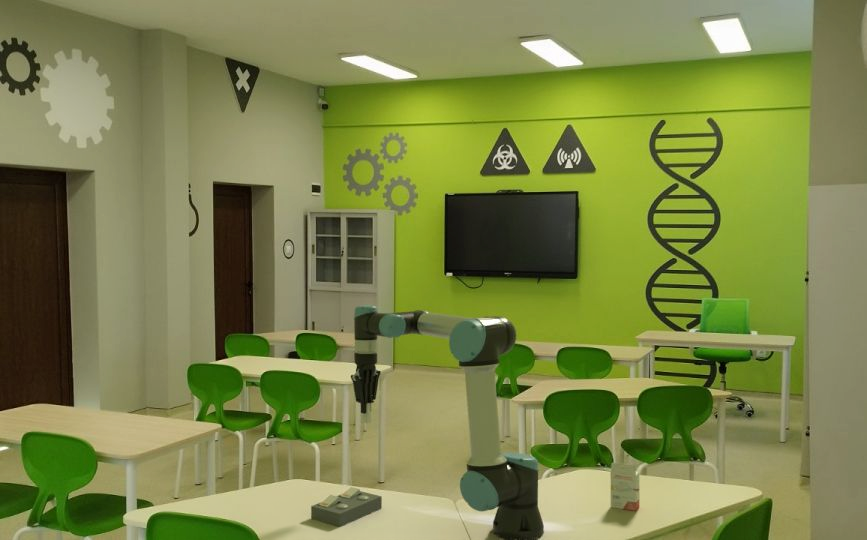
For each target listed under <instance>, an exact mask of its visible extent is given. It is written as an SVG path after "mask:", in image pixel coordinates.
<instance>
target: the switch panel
mask: <svg viewBox="0 0 867 540" xmlns="http://www.w3.org/2000/svg"><path fill="white" fill-rule="evenodd" d="M342 494H343V493H341V494H339V495H336V496H337V497H339V500H340V501H339V502H338V503H337V504H335V505H334V506H331V507H329V508H325V507H321V506H319V504H320V503H321V502H319V503H316V504H313V505H311V507H310V509H311V510H310V511H311V517H310V518H311V520H314V521H318V522H322V523H324V524H328V525H332V526H336V527H340V528H341V527H343V526H345V525H347V523H348V524H350V523H352V522H354V521H356V520H359V519H361V518H363V516H364V517H365V515H366V516H367V514H368V515H370V514H372V512H373V513H375V512H376V511H377V512H378V511H379V510H381V508H382V501H383V500H382V499H383V498H382V495H377V494H374V493H369V492H364V491H361V490H360V494H358V495H357V496H356V497H353V498H351V499H345V498H341V497H340V496H341V495H342ZM382 509H383V508H382ZM374 511H375V512H374Z"/></svg>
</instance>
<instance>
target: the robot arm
mask: <svg viewBox="0 0 867 540" xmlns="http://www.w3.org/2000/svg"><path fill="white" fill-rule="evenodd" d="M353 315H354V317H353V321H354V322H353V323H354V324H353V325H354V329H353V330H354V331H353V332H354V351H355V353H354V364H355V365H356V367H355V373H354V374H351V375H350V379H351V381H352V384H353V391H354V396H355V402H356V403H357V404H360V413H361V423H363V424H370V423H371V420H372V419H371V417H372V416H371V414H372V413H371V412H372V403H373V404H374V402H375V401H374V400H376V399H377V393H378V386H379V381H380V379H379V378H380V376H381V373H382V372H381V370H378V369H377V367H376V365H377V363H378V353H377V352H378V337H384V338H388V339H391V338H393V339H394V338H395V339H396V338H400V337H401V336H405V335H412V334H413V335H421V336H428V337H436V338H440V339H442V338H443V339H448V346H449V351H450V354H452V357H454V359H455V360H457V361H458V367H459V369H461V370H462V371H463V372H464V379H465V380H464V381H465V391H466V392H465V393H466V402H467V403H466V404H467V405H466V406H467V418H468V433H469V443H470V457H468V459H467V460H466V462H465V463H466V472H464V474H463V475H462V476H461V478H460V480H459V490H460V493H461V496H462V499H463V500H464V501H465V503H467V505H468V507H470V508H472V509H473V510H475V511H477V512H488V511H493V510H496V513H495V515H494V519H493V521H492V532H493V533H494V535H496V536H497V537H500V538H503V539H506V540H534V539H538V538H540V537H542V536H543V535H544V531H545V529H544V522H543V518H542V516H541V513H540V509H539V471H540V470H539V465H538V464H539V462H538V459H537V458H536V457H534V455H533V456H532V455H530V454H526V453H520V452H510V451H509V452H502V449H501V447H502V446H501V436H500V434H501V433H500V421H499V411H498V397H497V386H496V385H497V383H496V369H497V367H498V366H499V365H500V356H502V355H505V354H507V353H509V352H510V351H511V350H512V349H513V348H514V346H515V344H516V341H517V330H516V326H514V324H513V322H511V321H510V320H509V319H508V318H506V317H503V316H496V315H495V316H483V317H479V318H478V317H476V318H475V317H466V316H459V315H451V314H450V315H449V314H444V313H443V314H441V313H433V312H429V311H428V310H421V309H419V310H413V311H401V312H389V313H388V312H387V313H386V312H384V313H383V312H379V311H378V307H377V306H376V305H368V304H367V305H366V304H365V305H357V306H356V307H355V308H354V314H353Z"/></svg>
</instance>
